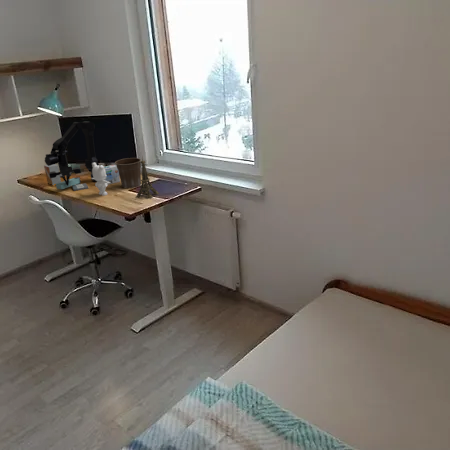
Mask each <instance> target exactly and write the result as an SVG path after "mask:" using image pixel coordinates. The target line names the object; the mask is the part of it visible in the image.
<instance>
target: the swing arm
mask: <svg viewBox="0 0 450 450" xmlns="http://www.w3.org/2000/svg"><path fill="white" fill-rule="evenodd" d="M66 181H67V180H66ZM81 182H82V181H81V178H80V176H77V177H73V178H69V183H68V186H67V184H66V183H65V181H64V180H63V181H61V182H60V183H57V184H56V185H55V187H56V189H57V190H64V189H67V188H70V187H72V186H73V185H76V184H78V183H80V184H81Z"/></svg>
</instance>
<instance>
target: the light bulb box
mask: <svg viewBox="0 0 450 450" xmlns="http://www.w3.org/2000/svg"><path fill="white" fill-rule="evenodd" d="M104 169H105V171H106V175H107V176H106V179H104V180H106V181H107V182H111V183H107V186H108V185H112V184H116V183H121V180H120V176H119V172H118V169H117V166H116V164H110V165H107V166H104Z"/></svg>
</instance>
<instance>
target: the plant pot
mask: <svg viewBox="0 0 450 450" xmlns="http://www.w3.org/2000/svg"><path fill="white" fill-rule="evenodd" d="M141 161H142V158H138V157H130V158H129V157H127V158H122V159H118V160H116V161H115V162H114V165H116V166H117V169H118V172H119V178H120V183H121V187H122V188H125V189H132V188H137V187H141V185H142V181H141V180H142V172H141V167H142V163H141Z"/></svg>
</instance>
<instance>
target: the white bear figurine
mask: <svg viewBox="0 0 450 450" xmlns="http://www.w3.org/2000/svg"><path fill="white" fill-rule="evenodd" d="M92 167H93V169H92V174H93V177H94V178H91V177H90V180H91V179H94V180H96V181H97V182H95V184H94V185H95V187H96V188H97V190H98V191H99V192H98V195H100V196H107V195H108V192H107V191H106V188H107V187H108V185H107V183H111V182H107V181H106V180H104V179H106V176H107V175H106V171H105V169H104V167H105V166H104V165H102V164H101V165H100V164H99V165H97V164H96V163H95V162H94V163H92Z"/></svg>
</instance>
